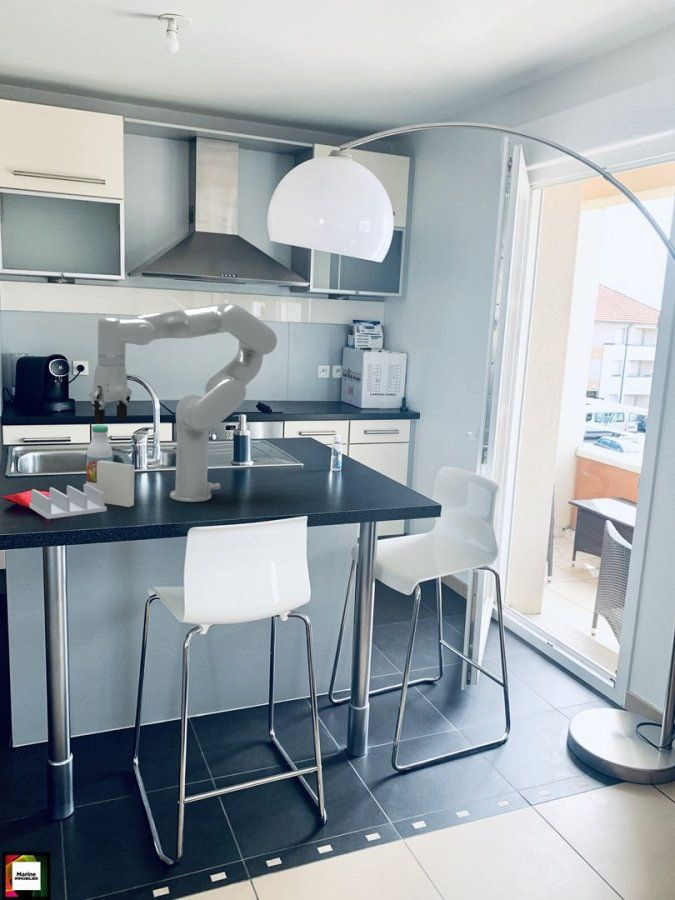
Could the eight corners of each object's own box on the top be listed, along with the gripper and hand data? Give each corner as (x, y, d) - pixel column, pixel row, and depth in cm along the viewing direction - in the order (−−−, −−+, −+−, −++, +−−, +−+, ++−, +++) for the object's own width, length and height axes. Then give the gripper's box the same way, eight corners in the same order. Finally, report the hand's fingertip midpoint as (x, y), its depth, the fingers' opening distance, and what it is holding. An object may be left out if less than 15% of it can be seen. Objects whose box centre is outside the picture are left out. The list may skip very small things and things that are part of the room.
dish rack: (86, 500, 219) (86, 483, 218) (106, 511, 209) (106, 493, 208) (29, 507, 207) (29, 489, 206) (47, 519, 198) (47, 500, 197)
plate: (101, 499, 220) (101, 460, 218) (133, 505, 217) (134, 465, 215) (96, 501, 218) (96, 461, 216) (129, 507, 215) (129, 466, 213)
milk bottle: (85, 486, 234) (86, 423, 230) (111, 486, 237) (112, 424, 233) (86, 492, 227) (87, 428, 223) (113, 492, 230) (114, 428, 226)
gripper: (120, 359, 220) (119, 416, 224) (79, 361, 205) (79, 423, 208) (141, 361, 218) (140, 419, 221) (101, 364, 202) (101, 426, 205)
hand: (110, 421), depth 214 cm, fingers open, 9 cm apart
